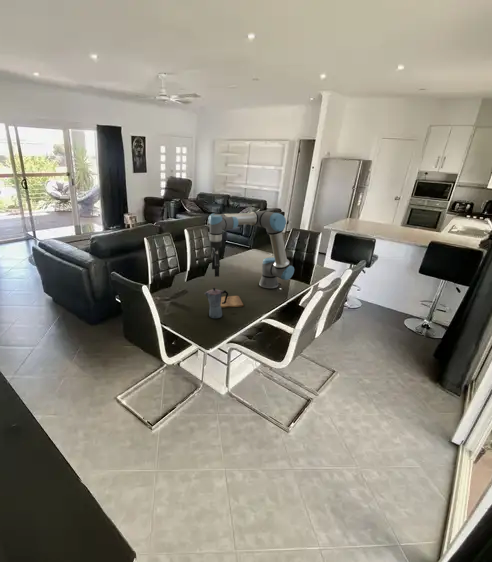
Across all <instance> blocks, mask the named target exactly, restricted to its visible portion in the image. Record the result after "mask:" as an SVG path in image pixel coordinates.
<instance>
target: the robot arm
mask: <svg viewBox="0 0 492 562" xmlns="http://www.w3.org/2000/svg"><path fill="white" fill-rule="evenodd" d="M286 219H287V218H286V217H285V216H284V215H283V214H281V213H279V212H274V211H273V212H272V211H268V210H258V211H257V210H256V211H250V212H247V213H211V214H209V215H208V218H207V221H208V224H209V235H208V237H209V247H210V248H211V270H214V277H215V278H217V277H220V267H221V263H220V261H221V259H220V250H219V248H220V249H221V248H222V246H223V241H222V240H223V231H227V230H234V229H237V228H238V226H240V225H249V226H255V227H260V228H264V229H265V230H266V234H267V235H269V238H270V243H271V248H272V253H273V257H266V258H263V260H262V267H261V277H260V280H259V283H258V286H259V287H260V288H262V289H266V290H274V289H277V288H278V287H279V286H280V285H282V283H281V282H279V280H278V279H280V280H283V281H289V280H290V279H291V278H292V277H293V275H294V273H295V267H294V266H293V265H291V262H290V260H289V259H288V258H287V252H286V246H285V242H284V235H283V232H284V230H285V228H286V225H287V220H286Z"/></svg>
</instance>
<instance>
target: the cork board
mask: <svg viewBox="0 0 492 562" xmlns="http://www.w3.org/2000/svg"><path fill="white" fill-rule="evenodd" d="M225 297H226V295H225V296H221V302H220V303H221V309H222V308H223V309H224V308H242V307H244V302H242V299H241V298H240V296H239V295H228V297H227V300H226V303H225V304H222V302H224V301H225Z"/></svg>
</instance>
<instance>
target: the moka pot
mask: <svg viewBox="0 0 492 562" xmlns="http://www.w3.org/2000/svg"><path fill="white" fill-rule="evenodd" d="M224 294H225V296H226V297H225V301H224V302H222V304H225V303H226V300H227V297H228V296H229V293H228V291H227V290H226V289H223V290H220V289H216V287H212V289H209V290H208V291H204V295H205V296H206V298H207V300H208V304H209V311H208V316H209V318H210V319H220V318H222V317H223V310H222V308H221V303H220V302H221V297H223V296H222V295H224Z"/></svg>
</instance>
